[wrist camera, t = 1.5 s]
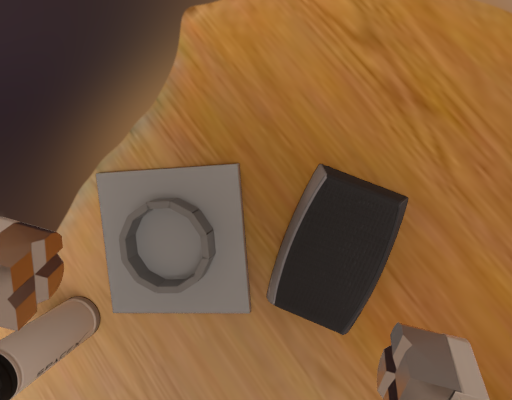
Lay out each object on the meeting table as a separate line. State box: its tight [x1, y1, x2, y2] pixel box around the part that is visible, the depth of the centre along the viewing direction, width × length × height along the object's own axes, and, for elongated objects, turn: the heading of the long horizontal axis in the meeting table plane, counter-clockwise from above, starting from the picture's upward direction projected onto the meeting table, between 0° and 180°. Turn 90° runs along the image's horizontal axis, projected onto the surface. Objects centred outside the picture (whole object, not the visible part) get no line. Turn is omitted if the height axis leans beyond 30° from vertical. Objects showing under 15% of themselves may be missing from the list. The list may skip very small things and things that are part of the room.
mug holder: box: [96, 164, 251, 313], centre depth 57 cm, size 20×20×4 cm
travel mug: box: [0, 297, 100, 400], centre depth 54 cm, size 6×7×20 cm
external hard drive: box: [267, 164, 408, 335], centre depth 54 cm, size 13×19×4 cm
